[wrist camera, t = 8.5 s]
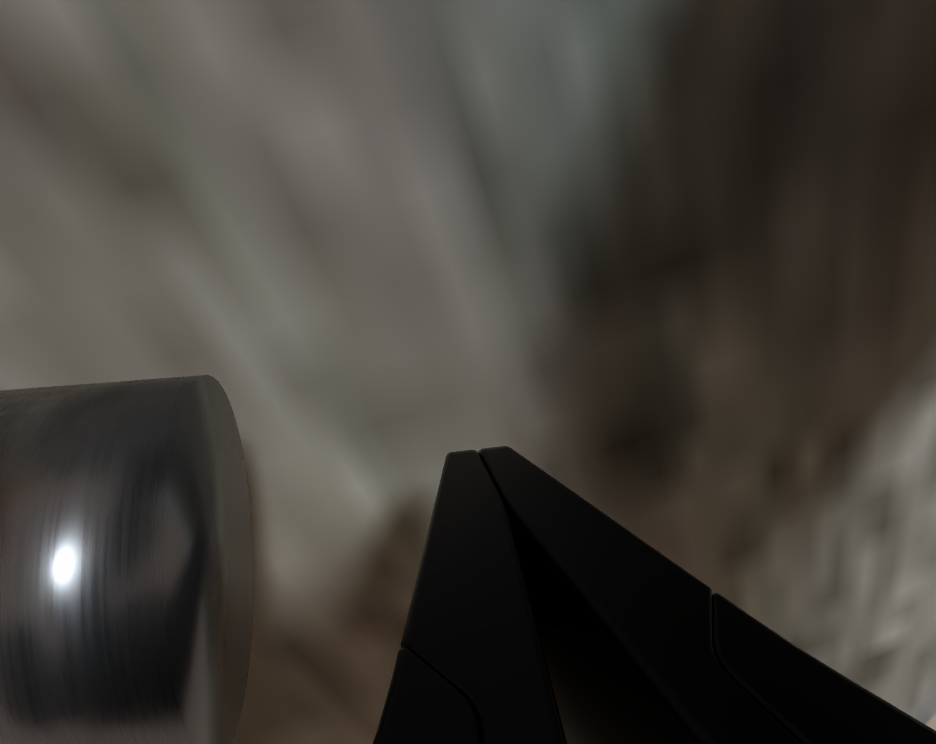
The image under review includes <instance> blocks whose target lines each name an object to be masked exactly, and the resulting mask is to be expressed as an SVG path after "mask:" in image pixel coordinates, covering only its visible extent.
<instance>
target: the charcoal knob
mask: <svg viewBox="0 0 936 744" xmlns="http://www.w3.org/2000/svg"><path fill="white" fill-rule="evenodd" d="M253 584H254V570H253V538H252V521H251V509H250V498H249V489H248V480H247V473H246V467H245V460H244V455H243V449H242V444H241V440H240V435H239V431H238V427H237V423H236V420H235V416H234V413H233V410H232V407H231V405H230V402H229V400H228V397H227V395H226V393H225V391H224V389H223V388H222V386H221V385H220V383H219V382H218V381H217V380H216V379H215V378H214V377H212V376H209V375H201V376H188V377H174V378H161V379H148V380H134V381H121V382H107V383H94V384H81V385H67V386H54V387H41V388H27V389H14V390H3V391H0V744H231V741H232V739H233V736H234V734H235V731H236V728H237V724H238V721H239V717H240V713H241V709H242V704H243V699H244V694H245V688H246V682H247V675H248V668H249V659H250V649H251V636H252V620H253Z"/></svg>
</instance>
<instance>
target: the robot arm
mask: <svg viewBox="0 0 936 744" xmlns="http://www.w3.org/2000/svg"><path fill="white" fill-rule="evenodd" d="M373 744H936V731H935V730H933V729H932V728H930V727H928V726H927V725H925V724H923V723H922V722H920V721H918V720H917V719H915V718H913V717H911V716H910V715H908V714H906V713H905V712H903V711H901V710H900V709H898V708H896V707H895V706H893V705H891V704H890V703H888V702H886V701H885V700H883V699H881V698H880V697H878V696H876V695H875V694H873V693H871V692H870V691H868V690H866V689H865V688H863V687H861V686H860V685H858V684H856V683H854V682H853V681H851V680H850V679H848V678H846V677H845V676H843V675H841V674H840V673H838V672H837V671H835V670H833V669H832V668H830V667H829V666H827V665H825V664H824V663H822V662H820V661H819V660H817V659H816V658H814V657H812V656H811V655H809V654H808V653H806V652H804V651H803V650H801V649H799V648H798V647H796V646H795V645H793V644H792V643H790V642H789V641H787V640H786V639H784V638H783V637H781V636H780V635H778V634H777V633H775V632H774V631H772V630H771V629H769V628H768V627H766V626H765V625H763V624H762V623H760V622H759V621H757V620H756V619H754V618H753V617H751V616H750V615H748V614H747V613H746V612H744V611H743V610H741V609H740V608H738V607H737V606H736V605H734V604H733V603H731V602H730V601H728V600H727V599H726V598H724V597H723V596H721V595H720V594H718V593H715V594H713V596H712V590H711V588H710V587H708V586H707V585H705V584H704V583H702V582H701V581H700V580H698V579H697V578H695V577H694V576H692V575H691V574H690V573H688V572H687V571H685V570H684V569H682V568H681V567H680V566H678V565H677V564H675V563H674V562H672V561H671V560H670V559H668V558H667V557H665V556H664V555H662V554H661V553H660V552H658V551H657V550H655V549H654V548H653V547H651V546H650V545H648V544H647V543H645V542H644V541H643V540H641V539H640V538H638V537H637V536H635V535H634V534H633V533H631V532H630V531H628V530H627V529H625V528H624V527H623V526H621V525H620V524H618V523H617V522H615V521H614V520H613V519H611V518H610V517H608V516H607V515H605V514H604V513H603V512H601V511H600V510H598V509H597V508H596V507H594V506H593V505H591V504H590V503H588V502H587V501H586V500H584V499H583V498H581V497H580V496H578V495H577V494H576V493H574V492H573V491H571V490H570V489H568V488H567V487H566V486H564V485H563V484H561V483H560V482H558V481H557V480H556V479H554V478H553V477H551V476H550V475H548V474H547V473H546V472H544V471H543V470H541V469H540V468H539V467H537V466H536V465H534V464H533V463H531V462H530V461H529V460H527V459H526V458H524V457H523V456H521V455H520V454H519V453H517V452H516V451H514V450H513V449H511V448H510V447H507V446H501V447H493V448H484V449H481V450H480V451H479V452H477V451H475V450H466V451H458V452H450V453H449V454H447V456H446V459H445V464H444V468H443V472H442V476H441V480H440V484H439V488H438V493H437V497H436V501H435V505H434V509H433V513H432V517H431V521H430V526H429V530H428V534H427V538H426V542H425V546H424V550H423V555H422V559H421V563H420V567H419V571H418V575H417V579H416V583H415V588H414V592H413V596H412V600H411V604H410V608H409V612H408V616H407V621H406V625H405V629H404V633H403V637H402V641H401V649H400V650H399V652H398V656H397V660H396V664H395V668H394V672H393V676H392V680H391V684H390V688H389V691H388V695H387V698H386V702H385V705H384V709H383V713H382V716H381V720H380V723H379V727H378V730H377V733H376V736H375V739H374V742H373Z"/></svg>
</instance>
